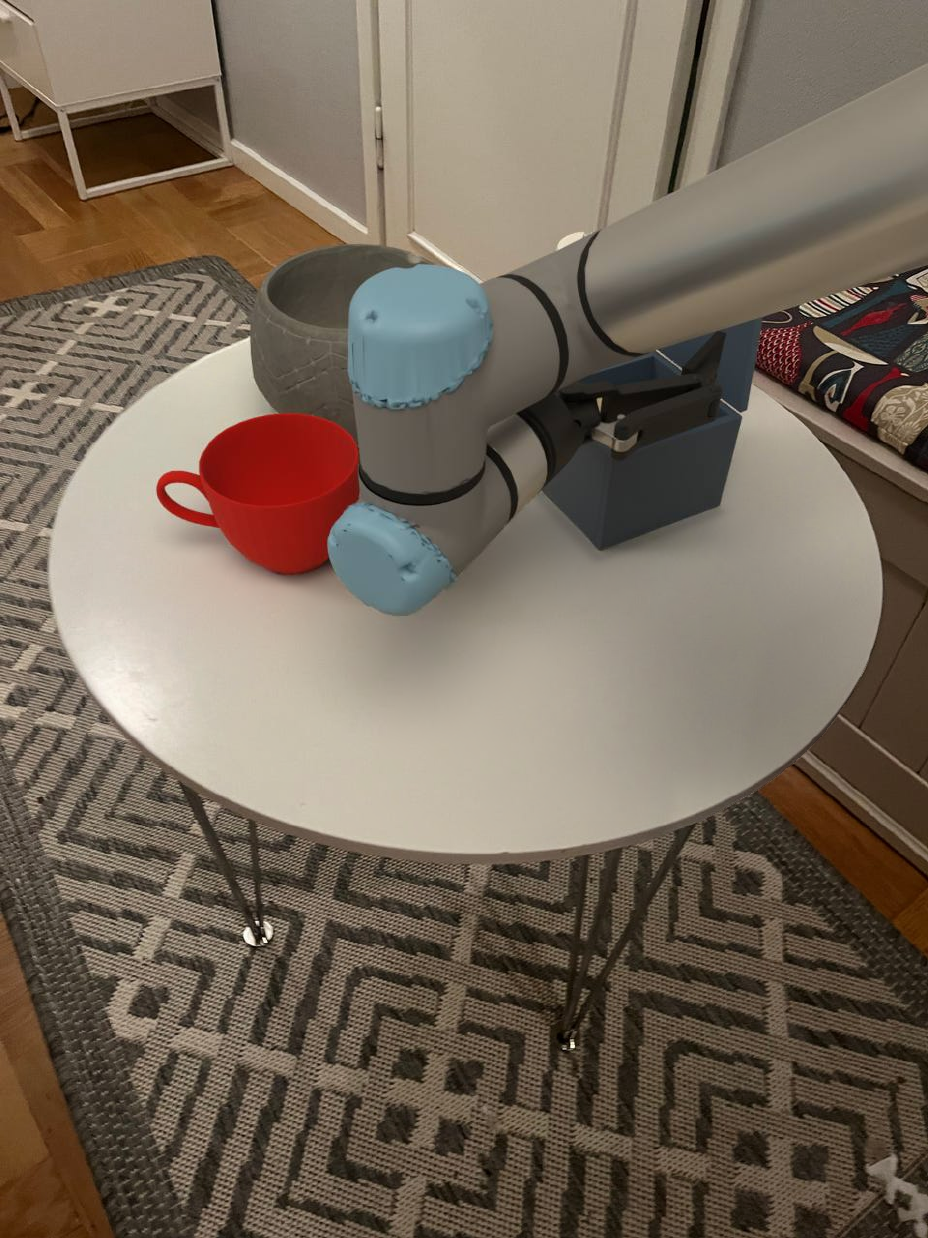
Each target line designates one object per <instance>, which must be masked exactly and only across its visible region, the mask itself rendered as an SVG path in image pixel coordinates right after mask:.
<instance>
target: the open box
mask: <svg viewBox="0 0 928 1238" xmlns="http://www.w3.org/2000/svg"><path fill="white" fill-rule="evenodd" d="M681 374H682V368H680V367H679V366H678V365H676V364H675V363H674V362H673V361H671V360H670V359H669V358H667V357H666V356H665V355H663V354H662V353H661V352H659V351H658V350H656V351H653V352H651V353H649V354H646V355H643V356H641V357H638V358H635V359H632V360H629V361H626V362H623V363H620V364H616V365H613V366H610V367H607V368H604V369H602V370H599V371H597V372H595V373H592V374H590V375H588V376H586V377H584V378H582V379H580V380H579V381H582V382H585V383H588V384H592V383H598V382H605V381H611V382H612V383H613V384H614V385H615V386H617V385H623V384H630V383H636V382H642V381H648V380H655V379H661V378H667V377H674V376H680V375H681ZM596 399H597V398H596ZM742 420H743V416H742V415H741V413H740V412H738V411H737V410H736V409H734V408H733V407H732V406H730V405H729V404H728V403H726V402H725V401H724V400H722V399H721V400H720V404H719V409H718V413H717V417H716V420H715V421H713V422H710V423H707V424H705V425H702V426H699V427H696V428H694V429H691V430H688V431H685V432H683V433H680V434H677V435H674V436H672V437H669V438H666V439H663V440H661V441H658V442H655V443H652V444H650V445H647V446H644V447H641V448H639V449H638V450H636V451H635V452H634V453H633V454H632V455H630V456H629V457H628V458H627V459H625V460H622V461H618V460H614V459H613V458H612V457H611V449H610V448H609V447H608V446H607V445H605V444H603V443H601V442H599V441H597V440H594V441H593V442H591V443H587V444H584V445H582V446H580V447H579V449H578V450H577V451H576V453H575V454H574V456H573V457H572V459H571V460H570V461H569V463H568V464H567V465H566V466H565V467H564V468H563V469H562V470H561V471H560V472H559V473H558V474H557V475H556V476H555V477H554V478H553V479H552V480H551V481H550V482H549V483H548V484H547V485H546V486H545V487H544V488H542V489H541V491H542V492H543V493H544V494H545V495H546V496H547V497H548V498H549V500H550V501H552V502H553V503H554V504H555V506H556V507H558V509H559V510H560V511H561V512H562V513H563V514H564V515H565V516H566V518H568V519H569V520H570V521H571V522H572V523H573V524H574V525H575V527H576V528H577V529H579V530H580V532H581V533H582V534H584V536H585V537H586V538H587V539H588V540H589V542H591V543H592V544H593V545H594V546H595V547H596V548H597V549H598V550H599V551H603V550H605V549H607V548H610V547H613V546H615V545H618V544H620V543H624V542H626V541H629V540H632V539H634V538H637V537H640V536H642V535H644V534H647V533H650V532H653V531H655V530H658V529H661V528H664V527H666V526H668V525H671V524H674V523H676V522H679V521H683V520H684V519H688V518H690V517H692V516H695V515H698V514H700V513H704V512H706V511H709V510H711V509H714V508H717V507H718V506H719V507H720V506H721V503H722V500H723V495H724V491H725V487H726V483H727V479H728V475H729V471H730V467H731V464H732V459H733V455H734V452H735V449H736V448H735V447H736V444H737V440H738V436H739V432H740V428H741V425H742Z"/></svg>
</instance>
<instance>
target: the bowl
mask: <svg viewBox="0 0 928 1238" xmlns="http://www.w3.org/2000/svg"><path fill="white" fill-rule="evenodd" d="M417 264H426V265H436V264H435V263H434V262H432V261H431V260H429V259H427V258H425V257H423V256H420V255H417V254H415V253H413V252H411V251H409V250H406V249H405V250H404V249H401V248H397V247H392V246H387V245H382V244H369V243H341V244H334V245H327V246H320V247H316V248H315V247H314V248H312V249H308V250H305V251H303V252H300V253H297V254H295V255H293V256H291V257H288V258H286V259H285V260H283V261H281V262H280V263H278V264H277V265H275V266H274V267H273V268H271V269H270V270H269V271H268V272H267V273H266V275H265V276H264V278H263V280H262V281H261V283H260V284H259V287H258V290H257V293H256V296H255V300H254V304H253V307H252V312H251V319H250V324H249V325H250V326H249V327H250V329H249V338H250V339H249V344H250V359H251V367H252V375H253V379H254V381H255V384H256V386H257V388H258V390H259V392H260V393H261V395H262V396H263V399H265V400H266V402H267V403H268V404H269V405H270V407H271V408H273V410H274V411H276V413H277V414H280V413H298V414H306V415H312V416H316V417H320V418H324V419H327V420H329V421H331V422H334V423H336V424H337V425H339V426H340V427H342V428H343V429H345V430H346V431H347V432H348V433H349V434H350V435H351V436H352V437H353V439H354V441H355V443H356V444H357V446H358V449H359V444H358V436H357V427H356V419H355V411H354V402H353V394H352V386H351V384H350V382H349V375H348V372H347V367H348V323H349V307H350V302H351V299H352V298H353V295H354V294H355V292H356V291H357V289H358V288H359V287H360V286H361V285H362V284H363V283H364V282H365V281H366V280H368V279H369V278H371V277H372V276H374V275H376V274H378V273H380V272H382V271H385V270H388V269H391V268H404V269H408V268H413V267H414V266H416V265H417Z"/></svg>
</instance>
